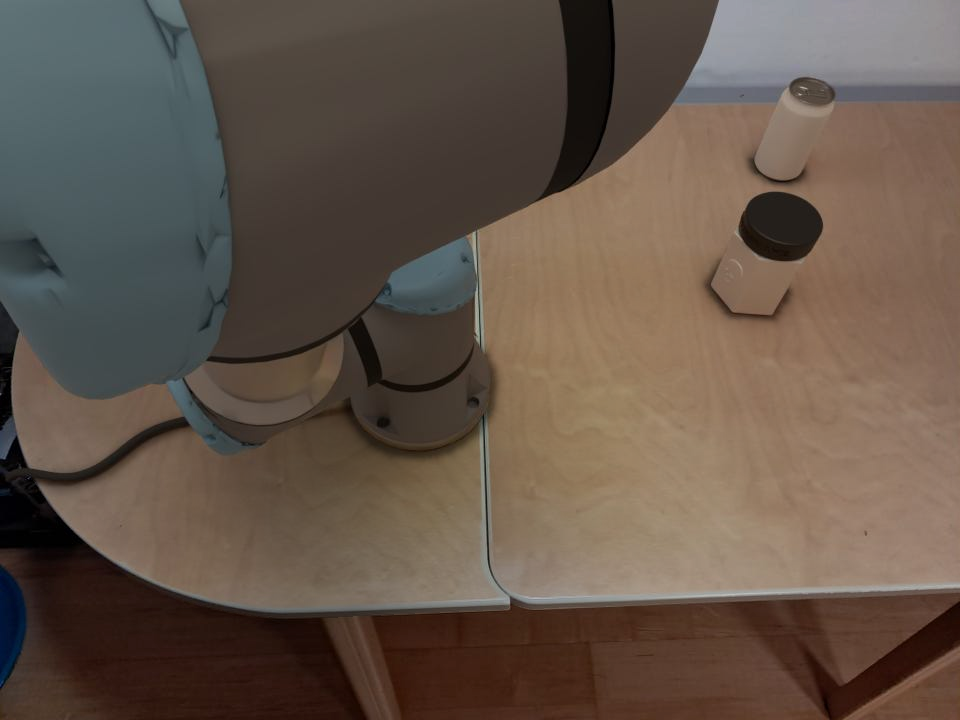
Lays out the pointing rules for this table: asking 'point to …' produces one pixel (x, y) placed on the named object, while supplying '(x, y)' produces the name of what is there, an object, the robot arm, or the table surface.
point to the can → (795, 128)
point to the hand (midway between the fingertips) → (143, 140)
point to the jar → (766, 252)
